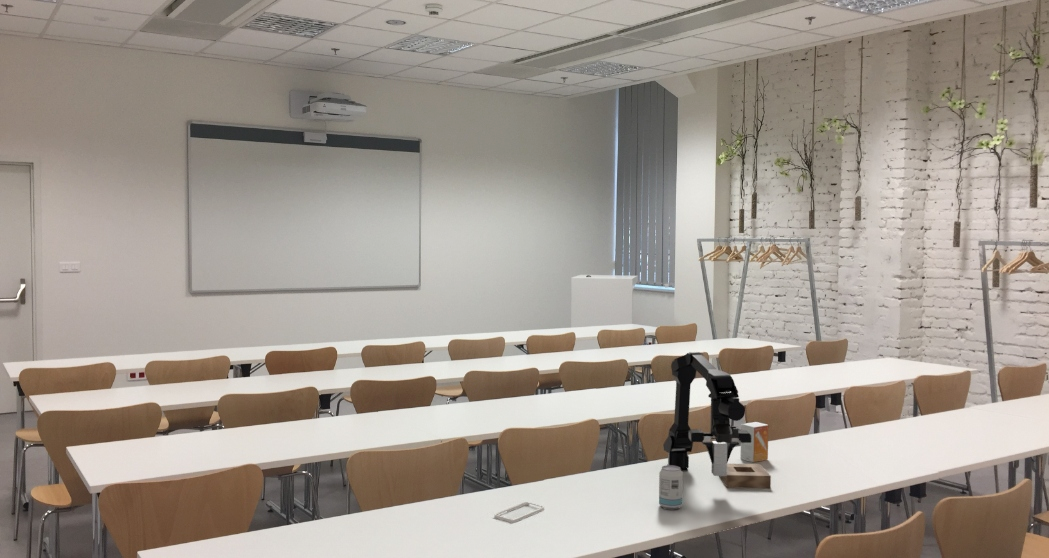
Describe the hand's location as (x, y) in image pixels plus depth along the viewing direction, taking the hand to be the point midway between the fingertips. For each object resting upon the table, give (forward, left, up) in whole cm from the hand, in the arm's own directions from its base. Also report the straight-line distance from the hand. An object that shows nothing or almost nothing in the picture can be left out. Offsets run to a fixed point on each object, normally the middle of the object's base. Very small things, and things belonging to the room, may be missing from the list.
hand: (719, 462), depth 256 cm
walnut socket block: (+11, +14, -10) cm, 20 cm away
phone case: (-62, -22, -11) cm, 67 cm away
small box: (+21, +42, -10) cm, 48 cm away
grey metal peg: (0, 0, -4) cm, 4 cm away
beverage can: (-17, -14, -10) cm, 24 cm away
